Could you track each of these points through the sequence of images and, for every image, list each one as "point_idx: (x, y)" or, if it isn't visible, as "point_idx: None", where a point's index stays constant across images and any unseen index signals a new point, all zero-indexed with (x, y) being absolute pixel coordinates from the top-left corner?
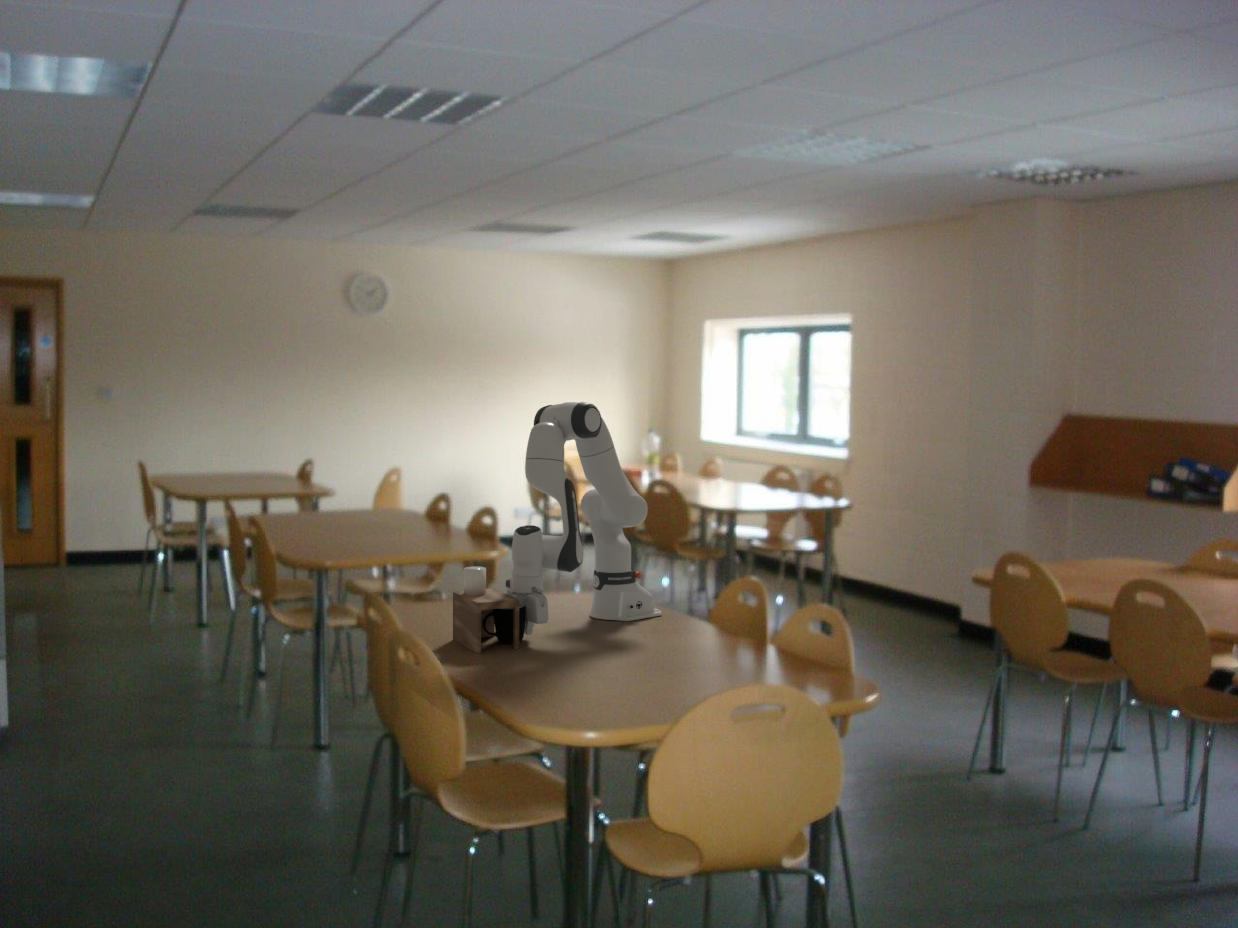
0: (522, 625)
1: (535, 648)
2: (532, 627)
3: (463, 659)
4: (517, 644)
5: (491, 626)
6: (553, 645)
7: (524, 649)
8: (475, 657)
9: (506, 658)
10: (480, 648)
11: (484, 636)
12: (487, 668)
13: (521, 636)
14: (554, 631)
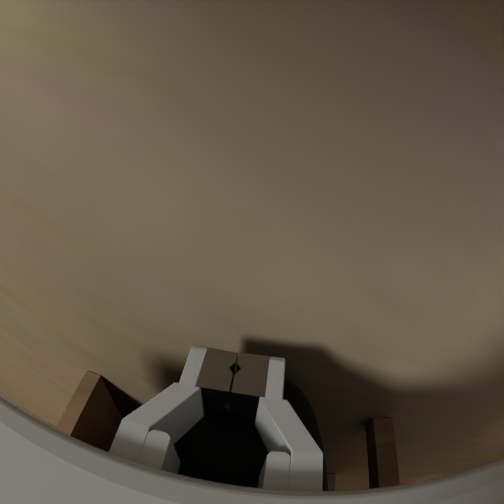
0: (325, 487)
1: (449, 374)
2: (291, 408)
3: (355, 488)
4: (390, 438)
5: (86, 420)
6: (494, 278)
7: (418, 407)
8: (362, 480)
9: (438, 451)
10: (334, 486)
11: (111, 402)
12: (448, 471)
13: (315, 421)
14: (75, 4)
